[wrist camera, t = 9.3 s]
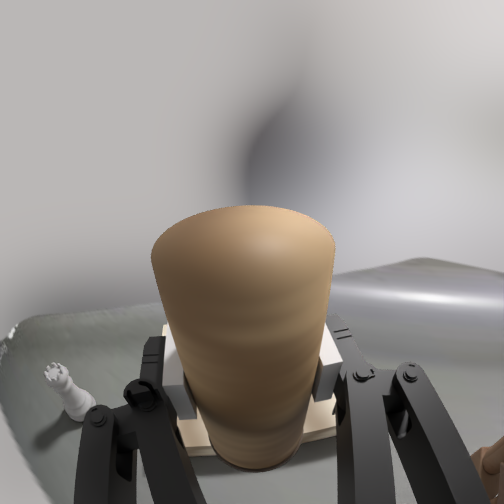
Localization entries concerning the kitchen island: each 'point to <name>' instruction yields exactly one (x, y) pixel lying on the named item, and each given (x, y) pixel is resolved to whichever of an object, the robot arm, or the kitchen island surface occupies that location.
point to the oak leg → (248, 323)
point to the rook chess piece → (69, 392)
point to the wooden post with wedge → (491, 470)
